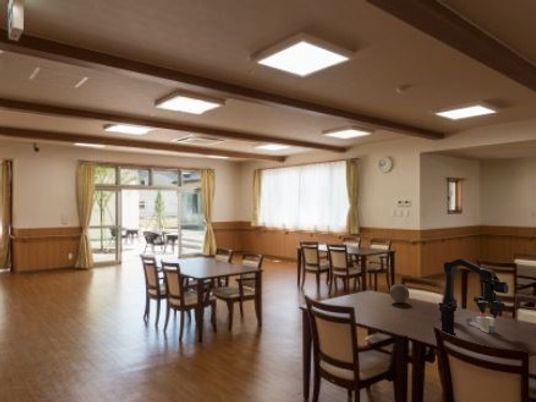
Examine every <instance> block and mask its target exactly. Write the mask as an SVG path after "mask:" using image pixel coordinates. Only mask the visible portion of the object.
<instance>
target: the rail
mask: <svg viewBox="0 0 536 402" xmlns="http://www.w3.org/2000/svg"><path fill="white" fill-rule="evenodd" d="M465 322H466V325H468V326H469V325H470V326H472V327H474V328H476V329H479V330H481V324H478V323H476V322H474V321H472V317H466V321H465ZM496 328H497V327H496V325H495V326H490V332H489V334H492V335H493V334H496V331H497V330H496Z"/></svg>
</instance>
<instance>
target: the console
mask: <svg viewBox="0 0 536 402" xmlns="http://www.w3.org/2000/svg"><path fill="white" fill-rule="evenodd" d="M475 321H476V322H475V323H477V324H480V325H481V318H480V315H479V316H476V317H475Z"/></svg>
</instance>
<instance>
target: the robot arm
mask: <svg viewBox="0 0 536 402" xmlns="http://www.w3.org/2000/svg"><path fill="white" fill-rule="evenodd" d="M461 266H462V267H464V268H466V269H468V270H470V271H472V272H474V273H476V274H478V275H479V277H480V278H482V279H481V280H480V281H479V283H482V284H483V291H481V293H482V294H483V296H481V295H480V296H479V295H478V296H476V295H475V296H474V297H473V301H474V303H475V304H476V306H477V307H478V309H479V311H480V312H481V313H482V314H484V313H485V304H489V305H492V307H491V311H492V314H493V315H492V316H493V318H494V319H496V318H497V316H498V314H499V312H500V310H503V309H504V308H506V304H505V302H503V301H502V300H503V297H501V296H499V295H497V293H500V294H508V293H509V291H510V290H509V288H510V287H509V285H508V283H507V281H501V280H500V279H499V277H498V276H497V274H496V271H495V270H493V269H491V268H487V267H482V266H480V265H478V264H476V263H473V262H471V261H470V260H467V259H466V258H458V259H455V260H452V261H446V262H444V264H443V271H444V273H445V295H444V298H443V300H442V303H443V305H448V303H452V305H451V306H453V305H457V306H458V303H457V302H458V299H456V298H455V297H454V296H455V294H454V293H455V292H454V290H455V274H456V272H457V269H458V267H461ZM438 310H439V312H440V318H439V320H440V321H442V314H441V313H442V309H440V307H439V308H438ZM484 315H485V314H484Z"/></svg>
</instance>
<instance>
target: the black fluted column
mask: <svg viewBox="0 0 536 402" xmlns="http://www.w3.org/2000/svg"><path fill="white" fill-rule="evenodd" d="M451 305H452V303H448V305H443V302H438V306H439V308H440V309H442V313H441V312H440V315H441V314H442V320H441V330H442V331H444V332H446V333H449V334H451V335H454V336H456V337H457V338H458V336H457V333H456V332H455V317H456V315H455V312H457V308H458V304H457V305H453V306H451Z"/></svg>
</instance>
